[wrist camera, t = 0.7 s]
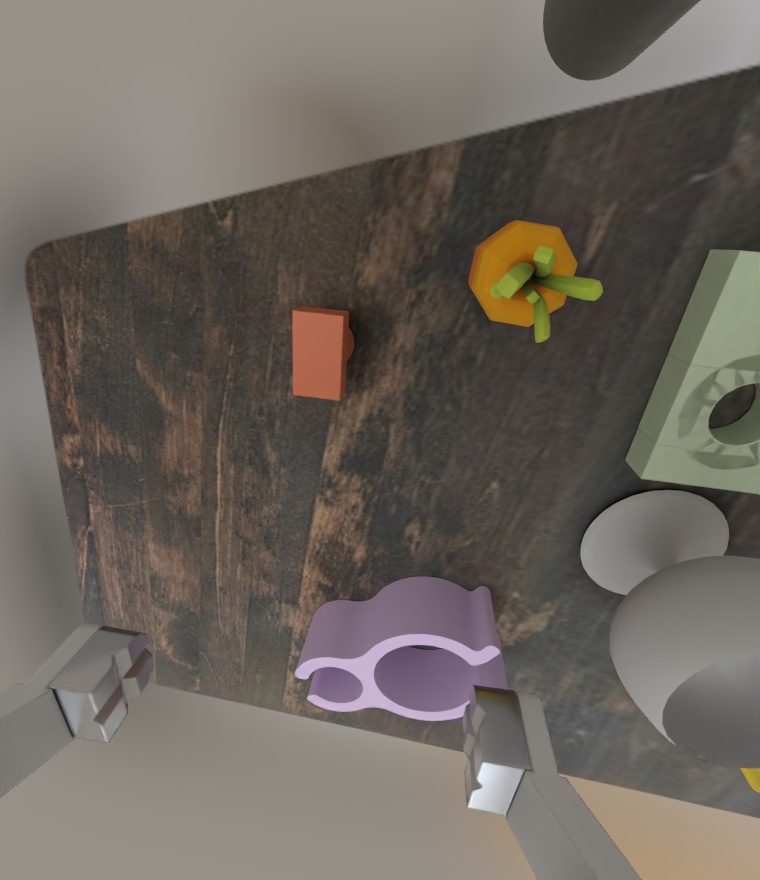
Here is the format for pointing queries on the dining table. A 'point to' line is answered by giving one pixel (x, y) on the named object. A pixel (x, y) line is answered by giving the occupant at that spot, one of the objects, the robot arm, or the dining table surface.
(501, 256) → the carrot
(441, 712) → the clip
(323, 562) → the dining table surface
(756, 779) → the element tile
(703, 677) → the chalice
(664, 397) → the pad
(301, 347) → the pad piece
